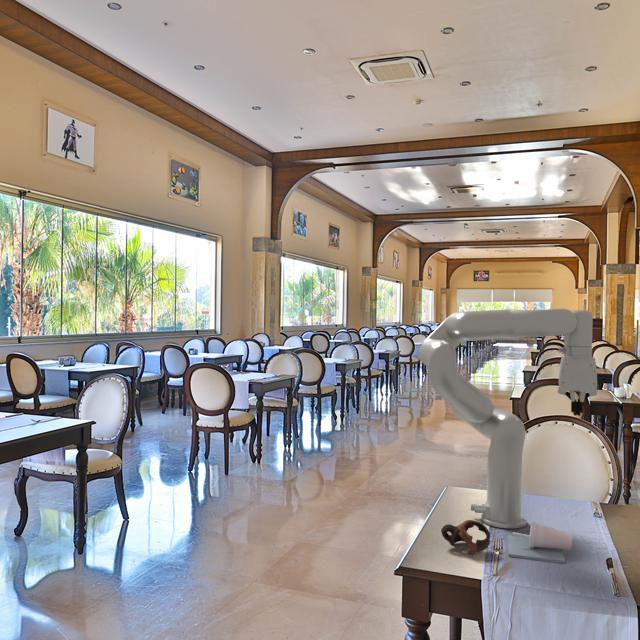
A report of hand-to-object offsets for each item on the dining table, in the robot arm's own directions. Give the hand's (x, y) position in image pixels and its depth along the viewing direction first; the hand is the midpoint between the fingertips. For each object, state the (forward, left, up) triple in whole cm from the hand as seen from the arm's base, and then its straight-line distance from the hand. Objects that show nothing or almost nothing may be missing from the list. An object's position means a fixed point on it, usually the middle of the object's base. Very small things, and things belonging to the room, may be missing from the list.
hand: (576, 414), depth 178 cm
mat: (-13, -28, -31) cm, 44 cm away
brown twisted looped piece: (-30, -34, -31) cm, 55 cm away
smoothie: (-4, -28, -28) cm, 40 cm away
